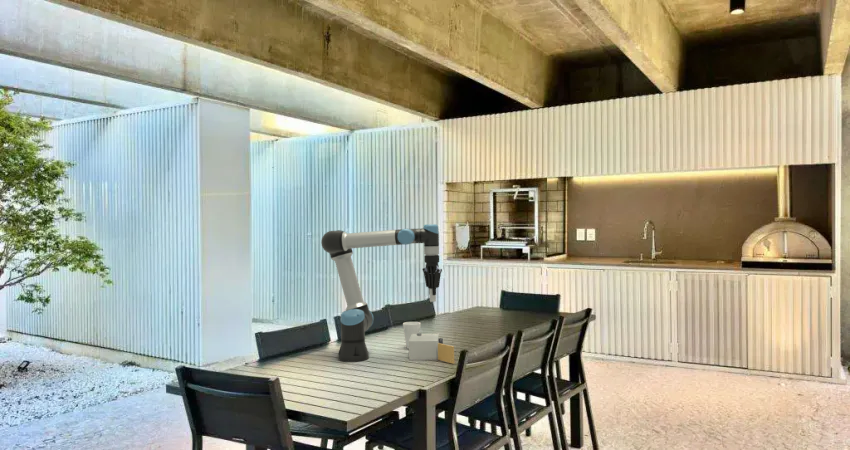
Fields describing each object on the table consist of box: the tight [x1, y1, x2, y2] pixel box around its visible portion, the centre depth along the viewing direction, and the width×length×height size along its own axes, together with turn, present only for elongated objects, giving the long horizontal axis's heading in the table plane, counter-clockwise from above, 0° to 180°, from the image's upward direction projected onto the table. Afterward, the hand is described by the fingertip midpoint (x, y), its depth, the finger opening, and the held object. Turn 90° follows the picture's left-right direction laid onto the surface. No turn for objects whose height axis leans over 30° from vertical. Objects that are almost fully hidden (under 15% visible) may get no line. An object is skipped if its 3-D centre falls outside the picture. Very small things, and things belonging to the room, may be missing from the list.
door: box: [436, 343, 455, 364], centre depth 284 cm, size 1×13×8 cm, turn 36°
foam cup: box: [402, 321, 422, 350], centre depth 320 cm, size 10×9×13 cm
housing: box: [408, 332, 444, 361], centre depth 299 cm, size 20×16×10 cm
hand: (432, 301), depth 303 cm, fingers closed
